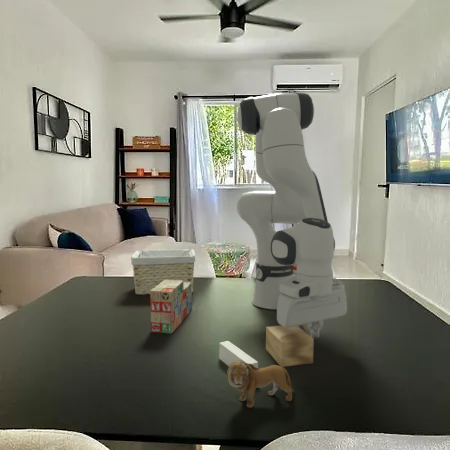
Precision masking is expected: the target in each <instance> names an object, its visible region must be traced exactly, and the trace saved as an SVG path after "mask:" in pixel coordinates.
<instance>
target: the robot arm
mask: <svg viewBox="0 0 450 450" xmlns="http://www.w3.org/2000/svg"><path fill="white" fill-rule="evenodd" d="M236 116H237V117H236V118H237V122H238V125H239V128H240V129H241V131H242V132H243V133H244V134H246V135H252V136H255V143H254V146H255V147H254V148H255V151H254V152H255V166H256V167H255V168H256V174H257V177H259V179H261V180H262V181H264V182H265V183H267V184H268V185H271V187H272V188H273V189H274V190H251V191H246V192H243V193H242V194H241V195H240V196H239V198H238V199H237V203H236V211H237V214H238V216H239V217H240V219H241V220H242V221H243V222H245V223H246V224H247V225H248V226H249V228H250V229H251V230H252V233H253V234H254V237H255V240H256V251H257V252H256V253H257V254H256V255H257V257H256V259H257V261H256V263H255V279H256V281H255V287H254V294H253V297H252V300H251V303H252V304H253V305H254V306H256V307H259V308H262V309H268V310H276V321H277V323H278V324H279V326H284V327H286V328H290V327H295V326H298V327H300V326H302V327H303V329H304V332H306V333H307V334H308V335H309V336H310V337H312V338H313V339H314V340H315V339H317V338H320V331H321V330H322V328H323V325H324V321H326V320H331V319H335V318H341V317H344V316H345V315H346V314H347V311H348V303H347V294H346V285H345V284H344V282H343V281H341V280H339V279H338V280H337V279H336V280H334V281H333V279H334V278H333V277H334V276H333V275H334V271H333V267H332V266H333V264H332V263H333V259H334V254H335V253H334V252H335V250H336V249H335V248H336V241H335V237H334V232H333V231H334V230H333V227H332V225H331V223H329V221H328V216H327V212H326V207H325V204H324V203H325V202H324V198H323V194H322V191H321V190H322V189H321V186H320V182H319V179H318V177H317V175H316V173H315V171H314V170H313V169H312V168H311V166H310V163H309V161H308V158H307V155H306V151H305V150H306V149H305V142H304V136H303V130H305V129H308V128H309V127H310V125H311V124H312V123H313V121H314V120H313V119H314V118H315V117H314V116H315V105H314V103H313V99H312V97H311V96H310V95H309V94H308V93H306V92H305V93H304V92H298V91H297V92H296V93H293V92H292V93H291V92H278V93H277V92H275V93H273V94H265V95H260V96H255V97H253V96H249V97H247V98H243V99H242V100H241V102H240V103H239V106H238V109H237V114H236ZM273 224H284V225H286V224H289V225H290V224H292V225H294V224H295V225H294V226H291V227H288V228H285V229H281V230H277V231H276V230H275V229H274V225H273ZM293 270H296V275H295V274H293V273H294V272H293ZM313 323H314V325H313ZM311 327H312V328H311Z"/></svg>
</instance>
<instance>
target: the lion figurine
mask: <svg viewBox="0 0 450 450" xmlns="http://www.w3.org/2000/svg"><path fill="white" fill-rule="evenodd" d="M226 373H227V381H228V383H229V384H228V385H230V386H231V387H233V388H235V389H236V390H237V391H238V392H241V396H240V397H239V401H240V402H244V401H246V399H247V396H248V401H247V403H246V407H247V408H250V409H252V408H253V407H254V404H255V399H254V398H255V397H254V396H255V392H256V388H257V389H258V388H259V389H260V388H265V387H267V386H269V385H270V384H272V389H271V390H268V391H267V395H268V396H273V395H274V394H276V392H277V390H279V389H281V390H282V391H284V392H285V393H287V394H288V395H286V396H285V401H287V402H291V401H292V400H293V393H294V392H295V389H294V388H292V383H291V378H290V375H289V372H288V371H287V369H286V368H285V367H281V366H280V365H279V364H278V365H276V364H271V365H269V366H265V367H260V368H259V367H258V368H256V367H254V366H253V365H252V364H248V363H245V362H244V361H239V360H238V361H234V362H232V363H231V364H230V365H229V366H228V368H227V371H226Z"/></svg>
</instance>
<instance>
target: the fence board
mask: <svg viewBox="0 0 450 450" xmlns="http://www.w3.org/2000/svg"><path fill="white" fill-rule="evenodd" d="M218 345H219V346H218V347H219V349H218V350H219V353H218V355H219V357H218V358H219V360H220V361H221V362H222V363H224V364H225V365H226V366H228V367H229V365H230V364H231V363H232V362H234V361H238V360H239V361H244V362H245V363H248V364H252V365H253V366H254V367H256V368H259V361H257V360H256V359H255V358H253V357H252V356H251V355H249V354H247V353H246V352H244V350H242V349H240V348H239V347H237V346H236V345H235V344H233V342H230V340H225V341H222V342H219V344H218Z"/></svg>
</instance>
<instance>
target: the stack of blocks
mask: <svg viewBox="0 0 450 450" xmlns="http://www.w3.org/2000/svg"><path fill="white" fill-rule="evenodd" d="M192 294H193V292H191V283H187V282H183V281H182V280H164V281H162V282H161V283H160V284H159V285H157V286H156V287H155V288H153V289H152V290H151V291H150V294H149V296H150V302H149V303H150V305H149V307H150V309H149V310H150V332H151V333H156V332H157V333H159V334H170V335H172V333H174V331H175V330H176V329H178V327H179V326H180V325H181V323H182V322H183V321H184V319H185V318H186V317H187V316H188V315H189V314H190V313H191V311H192V309H193V307H192V305H193V304H192V303H193V301H192V298H193V295H192ZM157 333H156V334H157Z"/></svg>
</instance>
